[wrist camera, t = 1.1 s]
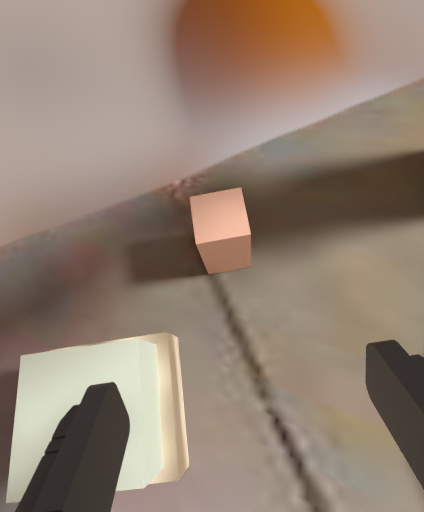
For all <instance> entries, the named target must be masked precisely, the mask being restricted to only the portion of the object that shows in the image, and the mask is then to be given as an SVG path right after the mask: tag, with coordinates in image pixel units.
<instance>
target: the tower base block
mask: <svg viewBox="0 0 424 512" xmlns="http://www.w3.org/2000/svg"><path fill="white" fill-rule="evenodd" d="M134 339H141V340H144V341H147V342H150V343H153V344H156V345H157V362H158V380H159V399H160V418H161V437H162V455H163V469H162V470H161V471H160V472H159V473H158V474H157V475H156V476H155V477H154V478H153V479H152V480H151V481H150V482H149V483H148V484H154V483H162V482H170V481H178V480H179V479H180V478H181V477H182V475H183V474H184V472H185V471H186V469H187V468H188V467H189V458H188V447H187V436H186V425H185V413H184V402H183V391H182V379H181V368H180V357H179V346H178V337H176V336H174V335H172V334H170V333H168V332H165V333H158V334H152V335H145V336H139V337H132V338H126V339H119V340H113V341H106V342H100V343H93V344H87V345H80V346H74V347H67V348H61V349H54V350H48V352H49V351H56V350H63V349H70V348H77V347H84V346H91V345H98V344H105V343H112V342H119V341H127V340H134Z"/></svg>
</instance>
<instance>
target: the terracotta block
mask: <svg viewBox="0 0 424 512" xmlns="http://www.w3.org/2000/svg"><path fill="white" fill-rule="evenodd" d="M190 205H191V212H192V220H193V227H194V235H195V242H196V246H197V248H198V251H199V253H200V255H201V258H202V260H203V262H204V265H205V267H206V269H207V272H208V274H214V273H220V272H226V271H231V270H237V269H243V268H249V267H251V232H250V227H249V222H248V218H247V213H246V208H245V203H244V198H243V194H242V189H241V187H239V188H234V189H229V190H223V191H218V192H213V193H208V194H202V195H197V196H192V197H190Z"/></svg>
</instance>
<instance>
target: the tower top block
mask: <svg viewBox="0 0 424 512" xmlns="http://www.w3.org/2000/svg"><path fill="white" fill-rule="evenodd" d="M109 382H114V383H115V384H116V385H117V387H118V390H119V392H120V395H121V397H122V400H123V402H124V405H125V407H126V410H127V412H128V415H129V420H130V433H129V438H128V442H127V446H126V450H125V454H124V458H123V462H122V466H121V470H120V474H119V478H118V483H117V487H116V491H122V490H131V489H140V488H144V487H145V486H146V485H147V484H148V483H149V482H150V481H151V480H152V479H153V478H154V477H155V476H156V475H157V474H158V473H159V472H160V471H161V470H162V469H163V455H162V437H161V418H160V399H159V380H158V362H157V345H156V344H153V343H150V342H147V341H144V340H141V339H134V340H127V341H119V342H112V343H105V344H98V345H91V346H84V347H77V348H70V349H63V350H56V351H49V352H42V353H35V354H28V355H21V360H20V370H19V380H18V389H17V399H16V409H15V419H14V429H13V438H12V448H11V458H10V468H9V477H8V487H7V497H6V503H12V502H20V501H21V499H22V497H23V495H24V493H25V491H26V489H27V487H28V485H29V483H30V481H31V479H32V477H33V475H34V473H35V471H36V469H37V466H38V464H39V462H40V460H41V458H42V456H44V455H45V453H44V452H45V450H46V448H47V446H48V444H49V442H50V441H52V436H53V434H54V432H55V430H56V428H57V426H58V424H59V422H60V420H61V419H62V418H63V417H64V416H65V414H66V413H67V412H68V411H69V410H70V409H71V408H72V406H73V405H79V404H80V403H81V401H82V398H83V396H84V394H85V392H86V390H87V388H88V387H89V386H90V385H96V384H102V383H109Z"/></svg>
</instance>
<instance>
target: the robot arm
mask: <svg viewBox="0 0 424 512" xmlns="http://www.w3.org/2000/svg"><path fill="white" fill-rule="evenodd" d="M366 386H367V390H368V393H369V396H370V398H371V401H372V402H373V404H374V406H375V408H376V409H377V411H378V413H379V414H380V416H381V418H382V419H383V421H384V423H385V424H386V426H387V428H388V430H389V431H390V433H391V435H392V436H393V438H394V440H395V441H396V443H397V445H398V446H399V448H400V450H401V451H402V453H403V455H404V457H405V458H406V460H407V462H408V463H409V465H410V467H411V468H412V470H413V472H414V473H415V475H416V477H417V479H418V480H419V482H420V484H421V485H422V487H423V489H424V358H423V357H422V356H420V355H411V356H409V355H408V353H407V352H406V351H405V350H404V349H403V348H402V347H401V345H400V344H399V343H398V342H397V341H395V340H388V341H381V342H375V343H369V344H367V346H366ZM129 433H130V420H129V415H128V412H127V410H126V407H125V405H124V402H123V400H122V397H121V395H120V392H119V390H118V387H117V385H116V384H115V383H114V382H109V383H102V384H96V385H90V386H89V387H88V388H87V390H86V392H85V394H84V396H83V398H82V401H81V403H80V404H79V405H73V406H72V408H71V409H70V410H69V411H68V412H67V413H66V414H65V416H64V417H63V418H62V419H61V420H60V422H59V424H58V426H57V428H56V430H55V432H54V434H53V436H52V441H50V442H49V444H48V446H47V448H46V450H45V452H44V453H45V455H44V456H42V458H41V460H40V462H39V464H38V466H37V469H36V471H35V473H34V475H33V477H32V479H31V481H30V483H29V485H28V487H27V489H26V491H25V493H24V495H23V497H22V499H21V501H20V503H19V505H18V507H17V509H16V511H15V512H110V511H111V507H112V503H113V499H114V495H115V491H116V487H117V483H118V478H119V474H120V470H121V466H122V462H123V458H124V454H125V450H126V446H127V442H128V438H129Z"/></svg>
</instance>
